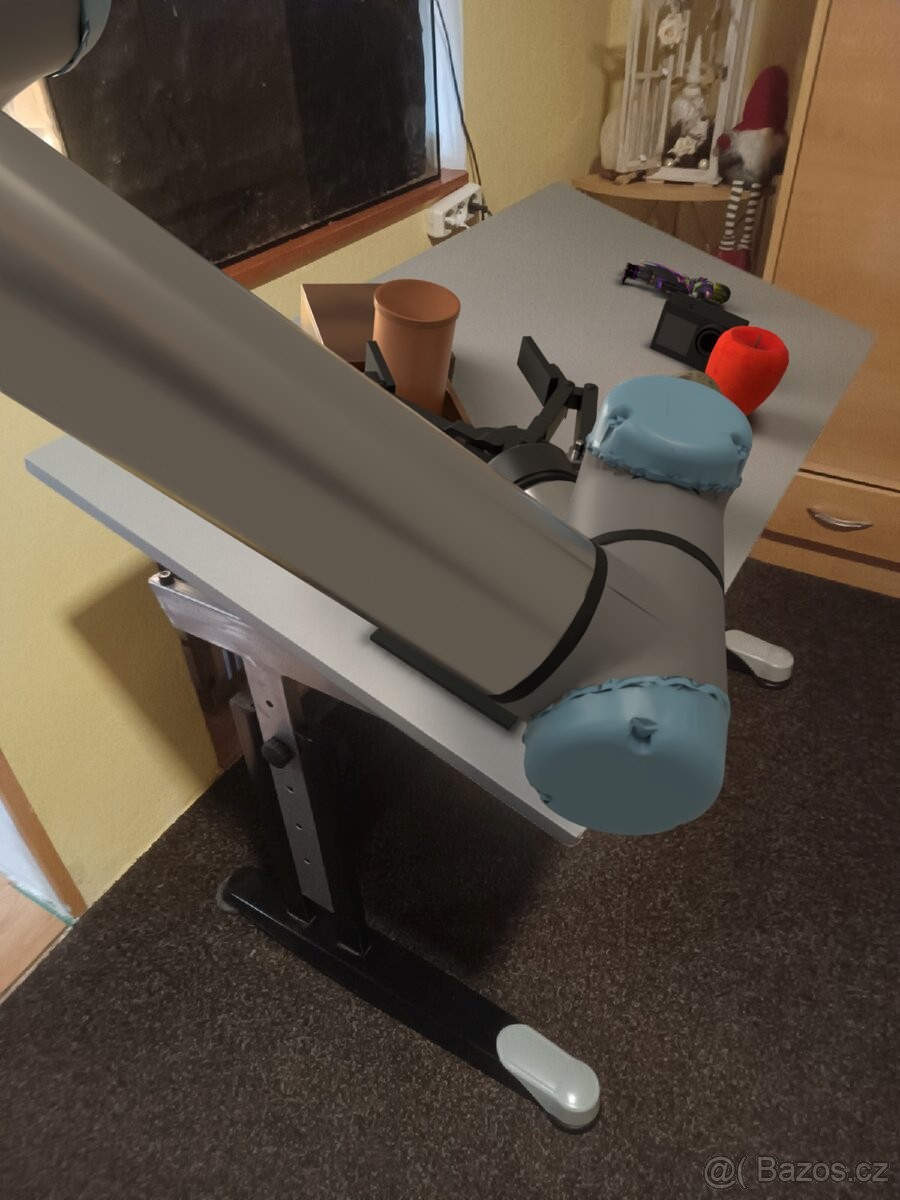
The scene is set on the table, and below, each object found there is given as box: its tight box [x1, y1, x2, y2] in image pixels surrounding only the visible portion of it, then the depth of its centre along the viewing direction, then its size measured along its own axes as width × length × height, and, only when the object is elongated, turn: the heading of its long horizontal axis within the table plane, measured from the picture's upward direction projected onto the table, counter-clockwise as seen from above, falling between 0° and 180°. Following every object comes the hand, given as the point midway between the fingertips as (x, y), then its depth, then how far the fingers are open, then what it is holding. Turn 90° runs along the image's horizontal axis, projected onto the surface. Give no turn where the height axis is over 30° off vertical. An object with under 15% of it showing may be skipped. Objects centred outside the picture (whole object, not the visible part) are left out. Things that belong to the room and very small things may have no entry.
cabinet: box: [300, 282, 457, 385], centre depth 94 cm, size 17×14×8 cm
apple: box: [705, 325, 790, 417], centre depth 99 cm, size 9×9×11 cm
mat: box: [369, 627, 520, 731], centre depth 71 cm, size 14×12×1 cm
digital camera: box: [649, 291, 750, 373], centre depth 108 cm, size 10×5×7 cm, turn 55°
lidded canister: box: [373, 278, 462, 417], centre depth 81 cm, size 8×8×15 cm
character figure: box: [620, 259, 732, 305], centre depth 123 cm, size 9×4×16 cm
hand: (449, 352), depth 70 cm, fingers open, 13 cm apart
